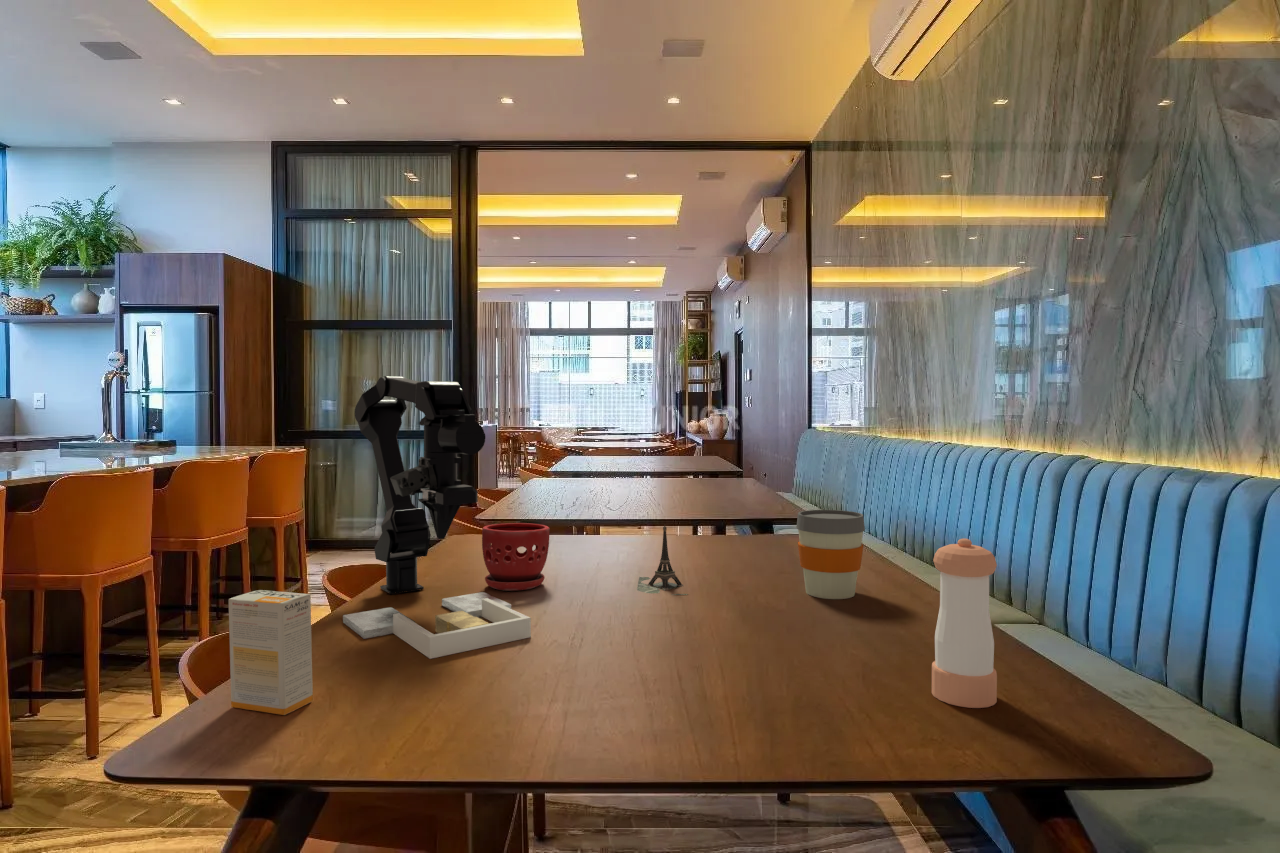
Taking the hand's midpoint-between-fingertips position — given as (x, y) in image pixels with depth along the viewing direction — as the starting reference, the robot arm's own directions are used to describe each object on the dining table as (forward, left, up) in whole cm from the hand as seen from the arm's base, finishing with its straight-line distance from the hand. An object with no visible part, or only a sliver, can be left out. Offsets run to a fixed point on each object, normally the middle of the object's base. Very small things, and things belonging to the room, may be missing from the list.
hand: (440, 538), depth 133 cm
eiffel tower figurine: (+14, +40, -13) cm, 44 cm away
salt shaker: (+80, +33, -12) cm, 87 cm away
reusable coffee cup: (+38, +61, -12) cm, 73 cm away
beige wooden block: (+22, -5, -12) cm, 25 cm away
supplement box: (+31, -34, -12) cm, 47 cm away
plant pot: (-4, +17, -12) cm, 21 cm away
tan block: (+17, -5, -12) cm, 22 cm away
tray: (+19, -5, -12) cm, 23 cm away
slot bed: (+6, -5, -12) cm, 14 cm away
